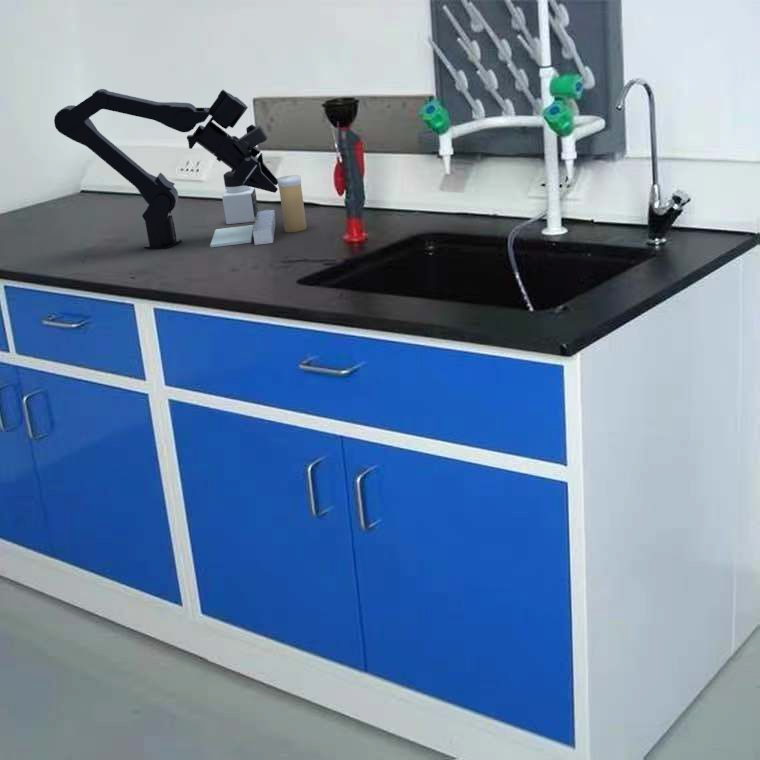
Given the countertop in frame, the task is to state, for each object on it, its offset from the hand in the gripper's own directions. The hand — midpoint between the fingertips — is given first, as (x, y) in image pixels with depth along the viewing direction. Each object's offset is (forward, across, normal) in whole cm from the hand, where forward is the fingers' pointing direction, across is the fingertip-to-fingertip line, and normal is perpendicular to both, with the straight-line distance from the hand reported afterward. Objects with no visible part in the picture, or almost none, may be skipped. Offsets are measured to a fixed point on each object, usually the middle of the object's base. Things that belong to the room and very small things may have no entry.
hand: (277, 187), depth 286 cm
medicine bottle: (0, +18, +15) cm, 23 cm away
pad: (-1, 0, +15) cm, 15 cm away
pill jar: (+9, 0, +5) cm, 11 cm away
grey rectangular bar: (+4, +1, +10) cm, 11 cm away
